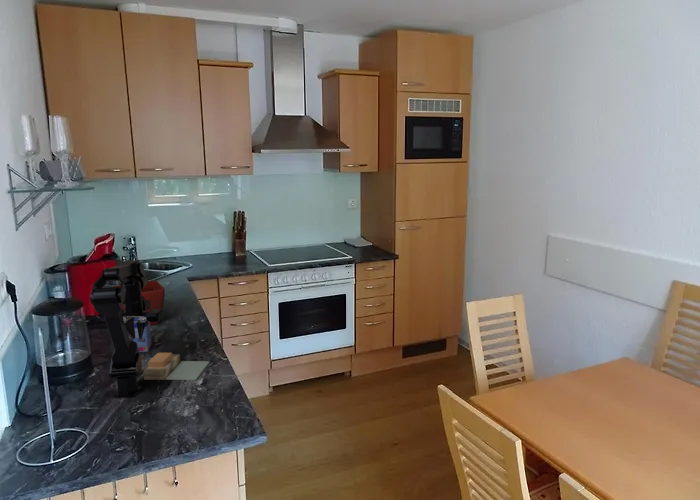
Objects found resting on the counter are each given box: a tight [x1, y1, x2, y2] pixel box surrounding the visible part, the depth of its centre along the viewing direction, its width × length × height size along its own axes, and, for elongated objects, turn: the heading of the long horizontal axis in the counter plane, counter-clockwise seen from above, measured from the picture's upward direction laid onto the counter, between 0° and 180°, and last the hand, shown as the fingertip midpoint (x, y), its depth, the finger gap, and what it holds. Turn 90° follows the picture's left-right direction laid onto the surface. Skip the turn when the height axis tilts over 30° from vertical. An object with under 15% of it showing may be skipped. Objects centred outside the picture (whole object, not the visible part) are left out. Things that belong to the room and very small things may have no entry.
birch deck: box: [143, 353, 181, 381], centre depth 173 cm, size 14×7×3 cm, turn 177°
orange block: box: [147, 352, 173, 368], centre depth 173 cm, size 8×5×2 cm, turn 177°
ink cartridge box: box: [132, 318, 152, 353], centre depth 192 cm, size 10×6×14 cm, turn 15°
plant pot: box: [112, 280, 166, 327], centre depth 220 cm, size 19×19×17 cm
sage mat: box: [165, 360, 210, 381], centre depth 173 cm, size 14×10×1 cm
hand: (137, 338), depth 171 cm, fingers closed
